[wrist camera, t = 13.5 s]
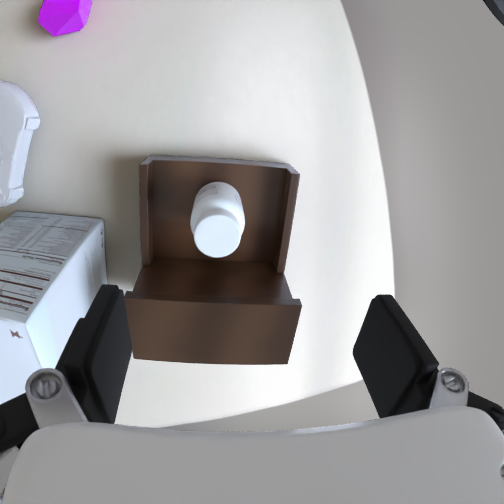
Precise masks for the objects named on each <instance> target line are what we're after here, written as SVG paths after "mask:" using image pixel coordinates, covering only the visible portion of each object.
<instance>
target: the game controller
mask: <svg viewBox="0 0 504 504" xmlns="http://www.w3.org/2000/svg"><path fill="white" fill-rule="evenodd" d="M40 120H41V119H40V118H39V114H38V111H37V108H36V106H35V104H34V103H33V101H32V100H31V98H30V97H29V96H28V94H27V93H26V92H24V91H23V90H22V89H21V88H19V87H18V86H16V85H14V84H12V83H9V82H5V81H0V207H4V206H8V205H11V204H13V203H14V202H16V201H17V200H18V199H19V198H22V197H23V191H24V188H23V183H22V182H23V176H24V170H25V165H26V160H27V155H28V151H29V146H30V142H31V138H32V134H33V130H34V129H38V127H39V124H40Z"/></svg>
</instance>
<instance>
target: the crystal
mask: <svg viewBox="0 0 504 504" xmlns="http://www.w3.org/2000/svg"><path fill="white" fill-rule="evenodd" d="M91 5H92V1H91V0H43V3H42V6H41V9H40V13H39V19H38V23H39V24H40V25H41V26H42V27H43V28H44V29H46V30H47V31H48V32H49V33H50V34H51V35H52V36H53V37H54V36H58V35H63V34H67V33H72V32H76V31H80V30H81V29H82V28H83V27H84V26H85V25H86V23H87V19H88V15H89V12H90V9H91Z"/></svg>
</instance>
